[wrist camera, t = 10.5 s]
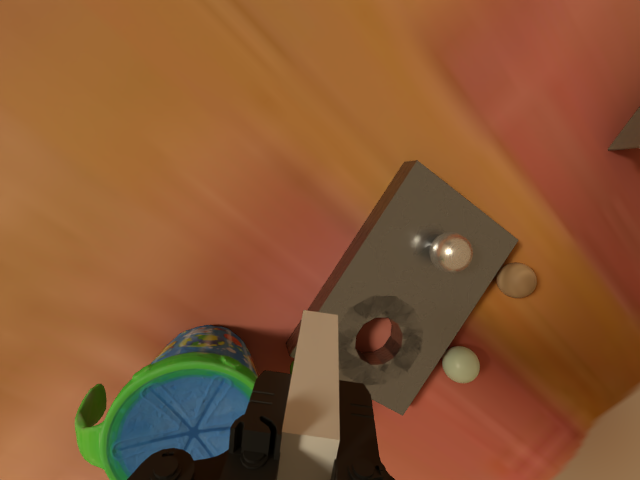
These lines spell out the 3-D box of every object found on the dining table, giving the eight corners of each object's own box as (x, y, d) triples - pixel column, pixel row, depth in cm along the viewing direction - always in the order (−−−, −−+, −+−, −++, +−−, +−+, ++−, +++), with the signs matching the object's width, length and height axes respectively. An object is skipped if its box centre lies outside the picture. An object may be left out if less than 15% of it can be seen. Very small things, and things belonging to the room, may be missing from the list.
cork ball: (501, 252, 37) (528, 260, 33) (524, 270, 38) (551, 278, 34) (482, 281, 37) (507, 291, 34) (505, 298, 38) (531, 309, 34)
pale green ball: (447, 334, 37) (468, 349, 34) (471, 349, 38) (494, 365, 35) (429, 362, 37) (448, 380, 34) (453, 377, 38) (474, 396, 35)
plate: (404, 161, 33) (417, 160, 31) (500, 236, 37) (518, 240, 34) (285, 343, 33) (289, 355, 31) (392, 400, 37) (402, 415, 34)
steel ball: (436, 222, 32) (459, 226, 29) (464, 242, 33) (489, 249, 30) (414, 255, 32) (435, 263, 29) (443, 274, 33) (466, 285, 30)
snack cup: (109, 421, 31) (49, 532, 21) (110, 304, 30) (46, 364, 20) (289, 412, 35) (308, 503, 25) (298, 307, 33) (322, 359, 23)
